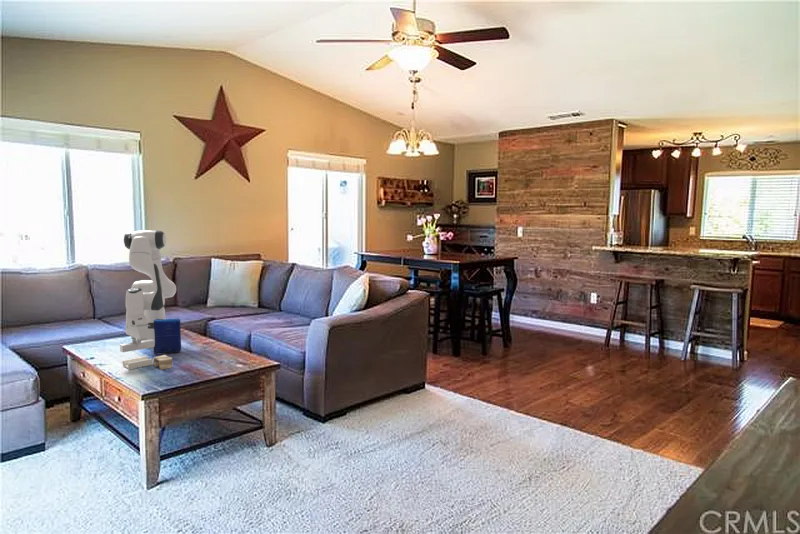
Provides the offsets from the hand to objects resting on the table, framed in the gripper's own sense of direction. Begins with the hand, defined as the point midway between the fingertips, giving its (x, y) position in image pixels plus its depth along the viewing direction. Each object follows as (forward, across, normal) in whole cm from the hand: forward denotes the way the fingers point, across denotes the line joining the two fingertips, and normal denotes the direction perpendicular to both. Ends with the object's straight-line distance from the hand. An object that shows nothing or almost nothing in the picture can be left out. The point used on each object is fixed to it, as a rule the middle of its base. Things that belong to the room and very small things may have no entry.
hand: (136, 345), depth 274 cm
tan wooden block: (+11, +12, +8) cm, 18 cm away
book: (+11, -12, +21) cm, 27 cm away
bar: (+2, 0, 0) cm, 2 cm away
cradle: (+11, 0, 0) cm, 11 cm away
